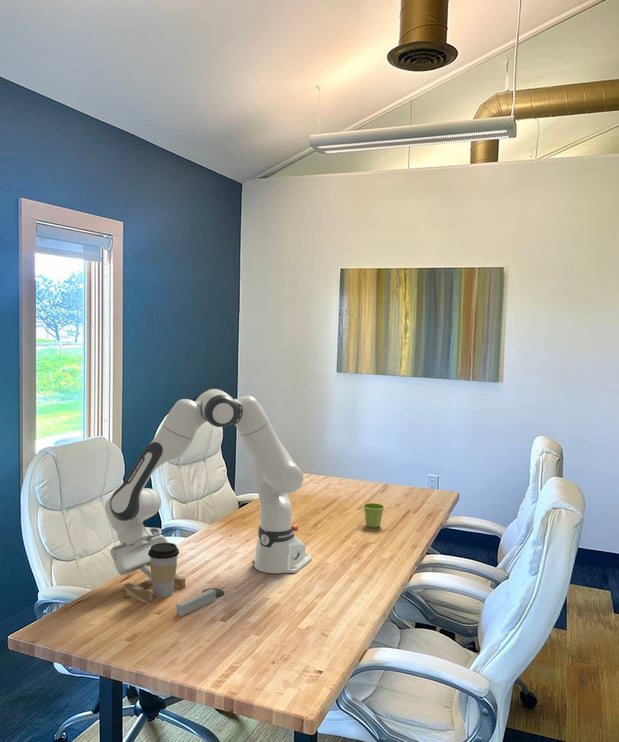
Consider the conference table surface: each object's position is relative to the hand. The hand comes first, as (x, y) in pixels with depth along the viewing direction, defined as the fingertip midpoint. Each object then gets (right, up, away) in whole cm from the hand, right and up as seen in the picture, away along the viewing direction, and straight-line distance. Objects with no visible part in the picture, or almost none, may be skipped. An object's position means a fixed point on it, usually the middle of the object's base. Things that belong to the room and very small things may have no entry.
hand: (154, 577), depth 196 cm
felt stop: (+15, -5, -11) cm, 19 cm away
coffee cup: (+3, -5, -2) cm, 6 cm away
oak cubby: (0, -4, 0) cm, 4 cm away
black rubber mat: (+19, -5, -1) cm, 19 cm away
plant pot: (+77, -2, +73) cm, 106 cm away
